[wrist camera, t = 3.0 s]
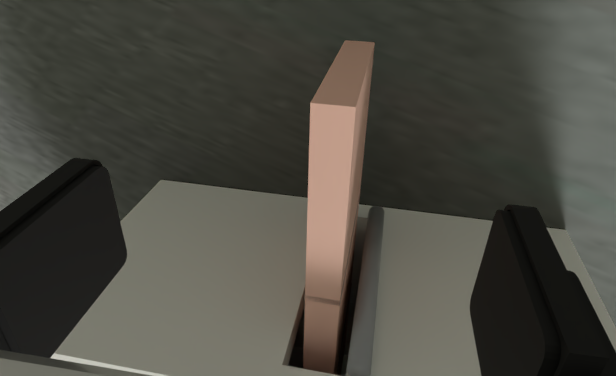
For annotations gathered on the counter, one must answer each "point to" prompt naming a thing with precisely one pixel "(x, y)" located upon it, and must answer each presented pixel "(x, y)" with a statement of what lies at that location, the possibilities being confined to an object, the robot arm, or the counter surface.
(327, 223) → the strip
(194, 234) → the ticket dispenser
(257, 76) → the counter surface
